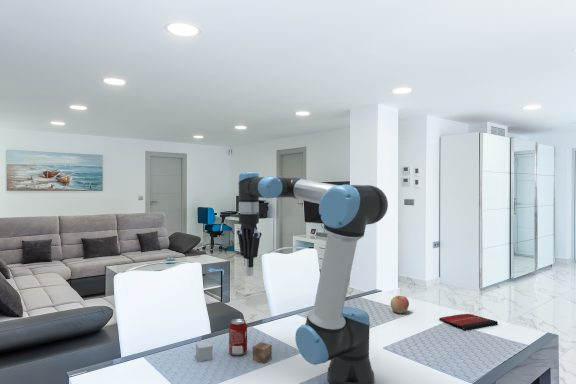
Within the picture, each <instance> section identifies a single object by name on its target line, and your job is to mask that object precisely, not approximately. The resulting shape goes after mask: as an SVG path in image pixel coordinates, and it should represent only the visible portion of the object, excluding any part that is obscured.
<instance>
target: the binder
mask: <svg viewBox="0 0 576 384" xmlns="http://www.w3.org/2000/svg"><path fill="white" fill-rule="evenodd" d="M438 321H440V322H442V323H444V324H447V325H449V326H450V327H452V328H455V327H456V328H455V329H462V328H464V329H463V331H464V332H467V331H466V330H468V331H473V330H480V329H483V328H488V327H489V326H490V327H495V326H498V324H499V323H498V321H497V320H493V319H490V318H486V317H482V316H479V315H475V314H472V313H462V314H454V315H447V316H444V317H443V316H442V317H439V320H438ZM457 327H458V328H457ZM490 327H489V328H490ZM472 329H473V330H472Z"/></svg>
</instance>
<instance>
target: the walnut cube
mask: <svg viewBox="0 0 576 384" xmlns="http://www.w3.org/2000/svg"><path fill="white" fill-rule="evenodd" d="M272 346H273V345H272V344H269V343H266V342H262V341H259V342H258V343H256V344H255V345H253V346H252V361H254V362H257V363H261V364H265V363H266V362H269V361H270V360H271V359H272V357H273V355H272V354H273V353H272V351H273V350H272V348H273V347H272Z"/></svg>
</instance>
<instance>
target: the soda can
mask: <svg viewBox="0 0 576 384" xmlns="http://www.w3.org/2000/svg"><path fill="white" fill-rule="evenodd" d="M228 352H229V354H231V355H233V356H243V355H244V354H246V353H247V352H248V324H247V321H246V319H245V318H244V319H243V318H233V319H232V320H230V324H229V326H228Z"/></svg>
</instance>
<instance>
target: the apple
mask: <svg viewBox="0 0 576 384" xmlns="http://www.w3.org/2000/svg"><path fill="white" fill-rule="evenodd" d="M409 305H410V301H409V299H408V298H407V297H406V296H404V295H396V296H395V295H394V296H393V297H392V298H391V300H390V308H391V310H392V311H393V312H395V313H397V314H404V313H405V312H407V310H408V309H409Z"/></svg>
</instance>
